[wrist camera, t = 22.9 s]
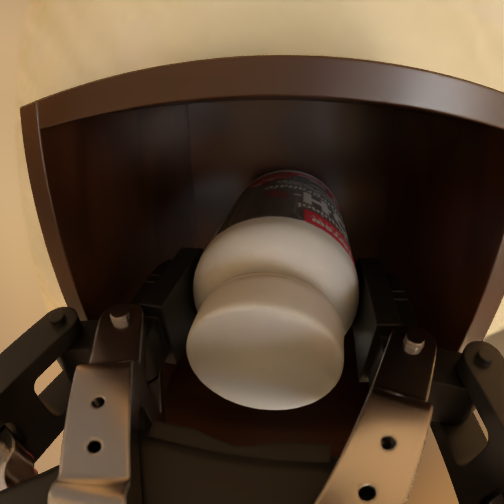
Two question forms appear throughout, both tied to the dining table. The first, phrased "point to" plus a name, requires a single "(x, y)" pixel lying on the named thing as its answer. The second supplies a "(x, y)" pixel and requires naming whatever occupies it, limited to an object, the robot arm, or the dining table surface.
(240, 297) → the pill bottle
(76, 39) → the dining table surface
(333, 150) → the chest
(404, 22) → the dining table surface
